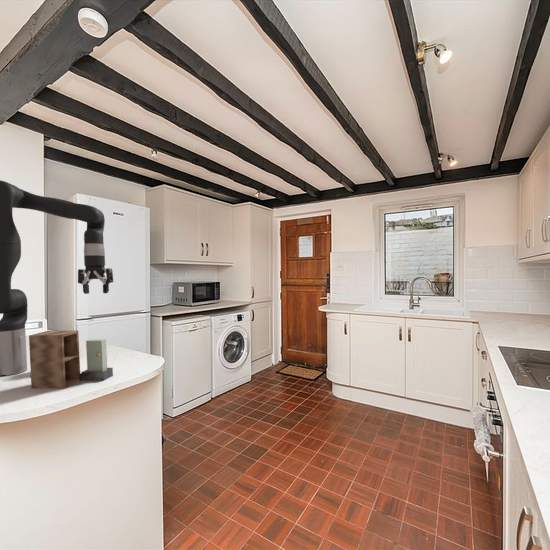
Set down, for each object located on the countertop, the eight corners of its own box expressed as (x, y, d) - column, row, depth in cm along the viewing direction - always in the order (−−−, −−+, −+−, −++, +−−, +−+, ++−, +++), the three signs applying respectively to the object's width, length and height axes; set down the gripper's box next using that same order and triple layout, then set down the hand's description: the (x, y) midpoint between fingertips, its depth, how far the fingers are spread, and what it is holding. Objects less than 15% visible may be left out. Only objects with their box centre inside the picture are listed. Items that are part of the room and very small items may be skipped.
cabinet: (31, 388, 104) (28, 335, 104) (50, 380, 112) (47, 330, 112) (64, 388, 103) (61, 335, 103) (80, 380, 111) (78, 330, 110)
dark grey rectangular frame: (79, 380, 110) (79, 372, 110) (89, 375, 115) (89, 367, 115) (103, 380, 109) (103, 372, 109) (112, 375, 114) (112, 367, 114)
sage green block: (85, 380, 111) (84, 341, 110) (92, 376, 114) (90, 339, 114) (101, 380, 110) (99, 341, 110) (107, 376, 113) (105, 339, 113)
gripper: (72, 255, 126) (73, 294, 126) (104, 253, 124) (106, 293, 125) (85, 256, 133) (86, 293, 134) (115, 254, 132) (117, 292, 132)
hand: (96, 293), depth 129 cm, fingers open, 8 cm apart
